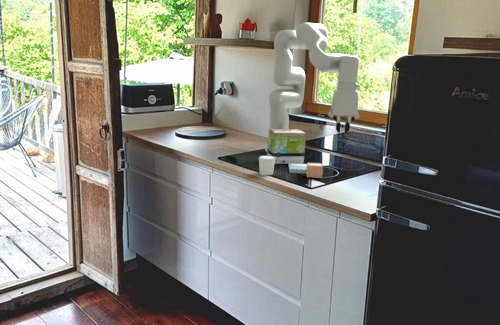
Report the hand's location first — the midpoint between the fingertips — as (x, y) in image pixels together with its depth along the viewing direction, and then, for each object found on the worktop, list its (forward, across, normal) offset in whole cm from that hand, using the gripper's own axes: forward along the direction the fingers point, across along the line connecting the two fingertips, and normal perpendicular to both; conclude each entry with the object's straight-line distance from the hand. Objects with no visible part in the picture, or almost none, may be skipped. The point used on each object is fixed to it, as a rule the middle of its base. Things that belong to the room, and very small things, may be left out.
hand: (342, 132), depth 187 cm
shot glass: (+19, +30, 0) cm, 36 cm away
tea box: (+19, +21, -22) cm, 36 cm away
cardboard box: (+19, +10, 0) cm, 22 cm away
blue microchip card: (+19, +13, -8) cm, 25 cm away
